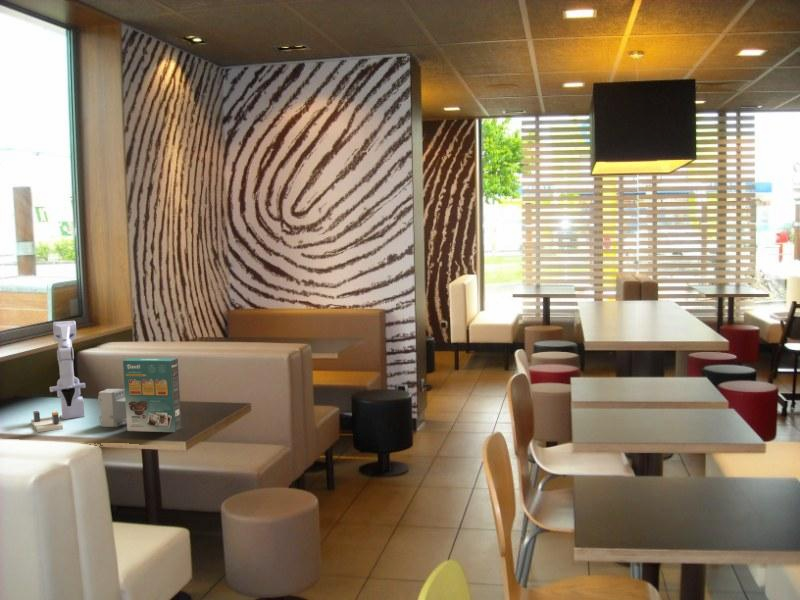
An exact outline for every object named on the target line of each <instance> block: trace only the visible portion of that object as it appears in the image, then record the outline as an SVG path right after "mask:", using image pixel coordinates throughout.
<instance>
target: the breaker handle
mask: <svg viewBox="0 0 800 600" xmlns="http://www.w3.org/2000/svg"><path fill="white" fill-rule="evenodd" d="M51 417H52V422H53V423H54V424H59V422H60V419H59V417H60V415H59V412H58V411H51Z"/></svg>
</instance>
